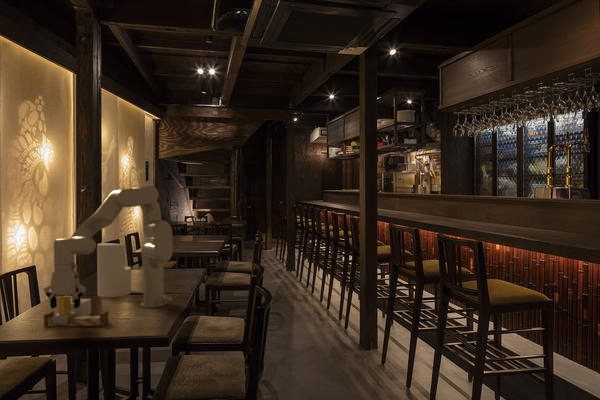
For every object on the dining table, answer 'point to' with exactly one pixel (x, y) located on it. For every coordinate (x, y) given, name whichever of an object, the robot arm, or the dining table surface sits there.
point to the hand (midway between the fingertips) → (65, 307)
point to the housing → (82, 307)
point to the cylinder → (112, 270)
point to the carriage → (63, 311)
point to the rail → (79, 320)
